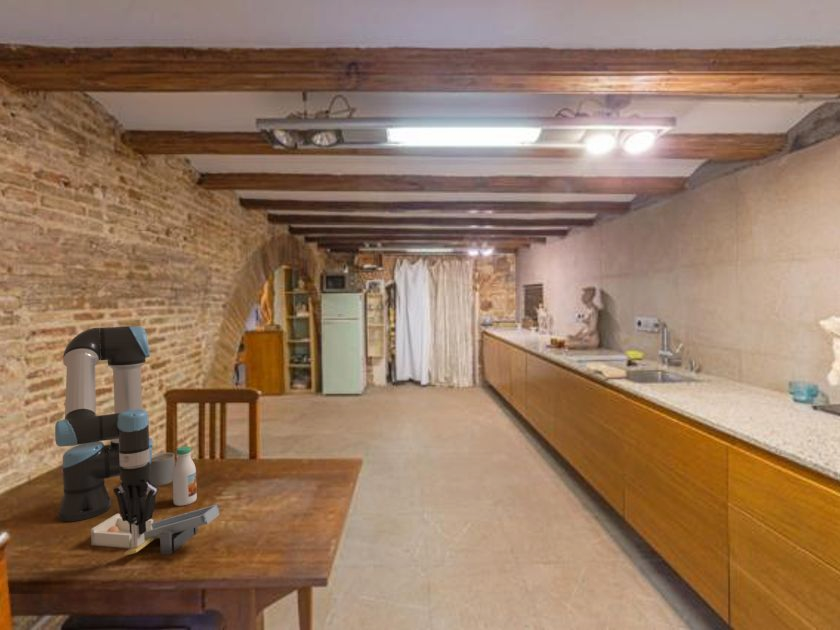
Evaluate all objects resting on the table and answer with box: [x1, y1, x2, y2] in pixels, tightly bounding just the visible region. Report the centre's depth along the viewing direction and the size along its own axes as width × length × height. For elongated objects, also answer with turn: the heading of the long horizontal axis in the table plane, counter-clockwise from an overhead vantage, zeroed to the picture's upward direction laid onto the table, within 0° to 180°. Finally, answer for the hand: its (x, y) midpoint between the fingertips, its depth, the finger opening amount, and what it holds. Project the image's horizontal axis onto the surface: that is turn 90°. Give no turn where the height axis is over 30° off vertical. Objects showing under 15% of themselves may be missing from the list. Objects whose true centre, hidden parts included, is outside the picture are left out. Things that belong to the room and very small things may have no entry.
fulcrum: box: [159, 511, 199, 556], centre depth 140 cm, size 3×13×7 cm, turn 171°
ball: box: [107, 526, 119, 533], centre depth 144 cm, size 3×3×3 cm
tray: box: [90, 513, 154, 549], centre depth 143 cm, size 13×10×5 cm
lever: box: [123, 503, 221, 557], centre depth 137 cm, size 24×16×3 cm, turn 81°
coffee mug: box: [149, 452, 176, 487], centre depth 188 cm, size 13×10×10 cm
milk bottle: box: [172, 446, 198, 507], centre depth 168 cm, size 8×8×20 cm
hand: (138, 544), depth 133 cm, fingers closed
